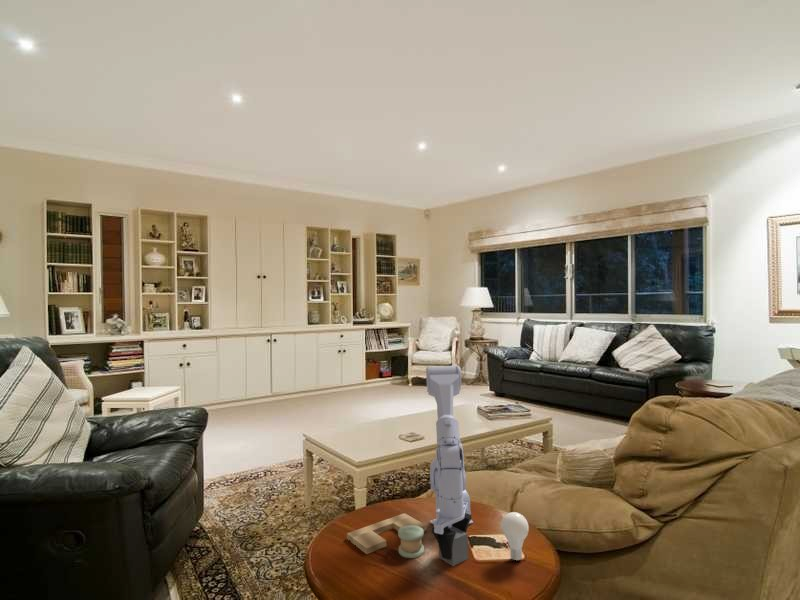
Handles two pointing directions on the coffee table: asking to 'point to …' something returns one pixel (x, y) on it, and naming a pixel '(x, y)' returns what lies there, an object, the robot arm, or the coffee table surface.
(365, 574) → the coffee table surface
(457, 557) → the block
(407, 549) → the bobbin
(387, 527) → the notched board
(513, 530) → the lightbulb
